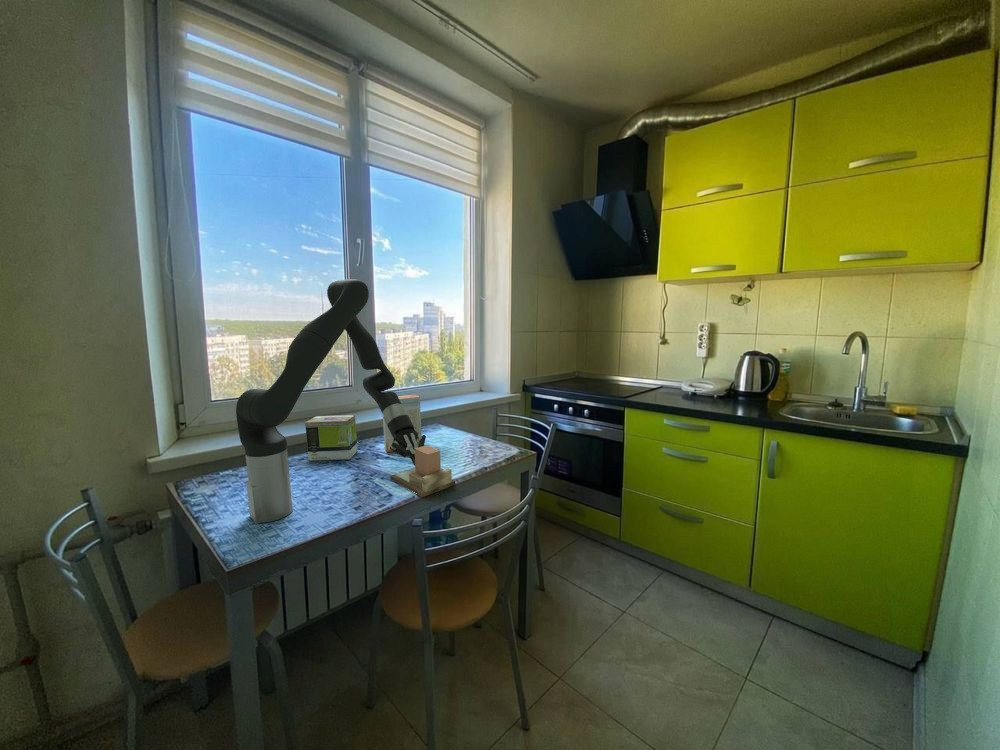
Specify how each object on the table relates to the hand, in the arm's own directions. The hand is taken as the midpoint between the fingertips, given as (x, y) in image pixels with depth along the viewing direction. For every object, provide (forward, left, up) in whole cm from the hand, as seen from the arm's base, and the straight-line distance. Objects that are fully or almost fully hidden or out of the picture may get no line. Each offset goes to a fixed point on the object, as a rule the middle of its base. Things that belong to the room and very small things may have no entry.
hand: (419, 465), depth 121 cm
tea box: (-10, +43, -5) cm, 44 cm away
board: (0, -1, -5) cm, 5 cm away
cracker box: (+13, +32, -5) cm, 35 cm away
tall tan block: (0, -4, -4) cm, 6 cm away
